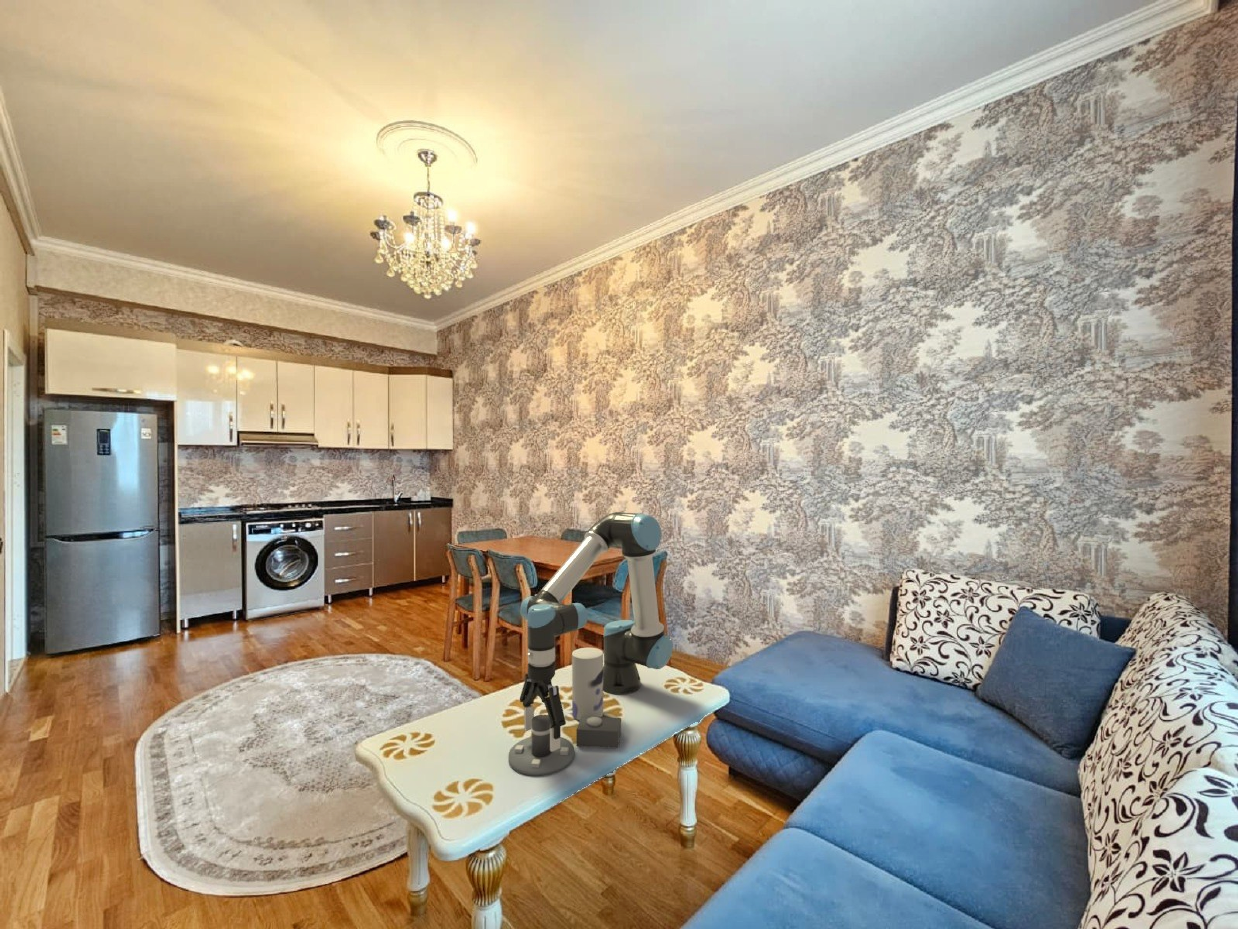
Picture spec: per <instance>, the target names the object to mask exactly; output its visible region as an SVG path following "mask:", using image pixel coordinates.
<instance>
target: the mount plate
mask: <svg viewBox="0 0 1238 929" xmlns="http://www.w3.org/2000/svg"><path fill="white" fill-rule="evenodd" d="M574 759H575V747H574V745H573V743H572V742H571V740H569V739H567V738H565V737H562V736H560V748H559V749H557V750H554V751H552V753H551V754H550V755H549V756H547V757H542V758H538V757H535V756H533V755H532V736H529V737H526V738H524V739H522V740H519V741H518V742H516V743H515V744H514V745H513V746H512V747H511V748H510V750H509V752H508V764H509V766H510V768H511V769H512V770H513V771H515V772H516V773H519V774H521V775H525V776H530V777H531V776H532V777H533V776H534V777H543V776H548V775H553V774H556V773H558V772H561V771H562V770H564V769H566V768H567V767H568V766H570V765H571V763H572V762H573V761H574Z"/></svg>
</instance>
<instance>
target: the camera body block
mask: <svg viewBox="0 0 1238 929" xmlns="http://www.w3.org/2000/svg"><path fill="white" fill-rule="evenodd" d="M621 736H622V717H611V716H610V717H608V716H602V717H595V716H581V719H580V720H579V722H578V724H577V727H576V747H592V748H604V749H605V748H607V749H618V748H619V746H620V741H621Z"/></svg>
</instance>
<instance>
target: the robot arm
mask: <svg viewBox="0 0 1238 929" xmlns="http://www.w3.org/2000/svg"><path fill="white" fill-rule="evenodd" d="M583 538H584V539H582V542H580V544H579V545H578V546H577V547H576V548H575V549H574V551H573V552H572V553H571V554H570V556H569V557H568V558H567V559H566V560H565V562H563V564H562V565H561V566H560V567H559V568H558V570H557V571H556V572H555V573H554V574H553V575H552V577H551V578H550V579H549V580H548V582H546V584H544V586H543V587H542V589H540V591H539V592H538V593H537V594H536V596H527V597H526V598H524V599H523V601H522V602H521V603H520V608H519V609H520V610H519V612H520V615H521V617H522V618H523V619H524V620H525V621H526V626H527V629H526V630H527V654H526V655H527V662H528V664H527V673H525V675H524V683H523V686H522V689H521V693H520V696H519V702H520V703H522V706H523V708H524V710H523V711H524V714H523V715H524V719H523V721H524V727H523V728H524V731H525V732H527V731H528V732H529V731H531V727H532V718H533V717H535V706H534V703H535V700H536V698H537V696H538V697H539V699H540V700H541V702H542V703H544V707H545V708H546V712H547V715H549V718H550V721H551V724H552V725H551V726H550V751H551V752H552V751H554V750H557V749H559V748H560V737H562V736H561V734H562V733H561V728H562V727H563V726H566V725H567V721H566V716H565V714H564V709H563V705H562V701H561V697H560V696H561V695H560V688H559V686H558V685H553V684H552V680H553V678H554V677H555V676H556V663H555V661H556V637H560V636H562V635H565V634H568V633H572V632H576V631H578V630H579V629H582V628H584V627H585V626H586V624H587V623H588V610H587V609H586V606H584V605H583V604H582V603H579V602H575V603H573V602H571V603H569V604H564V603H563V601H564V600H565V598H566V597H567V596H568V595H569V594H570V593H571V592H572V590H573V589H574V588H575V586H576V585H578V583H579V582H580V581H581V579H582V578H583V576H584V575H585V574H586V573H587V572H588V570H590V568H591V567H592V565H593V564H594V563H595V562H596V560H597V559H598V558H599V557H600V556H601V554H606V553H607V551H608V550H609V549H610V548H612V547H615V546H617V547H621V555H622V557H624V558H625V559H626V561H627V568H628V569H627V570H628V577H629V578H628V579H629V585H630V586H629V587H630V596H631V604H632V613H633V620H630V619H619V620H614V621H611V622H610V621H609V622H608V623H606V624H605V625H604V626H603V627H604V628H603V635H602V636H603V692H605V693H609V694H616V695H625V694H630V693H631V694H632V693H633V692H636V691H637V690H639V689H640V688H641V677H640V675H639V674H640V672H639V671H638V668H637V667H638V666H637V665H640V666H643V667H647V669H654V670H661V669H662V668H664V667H666V665H667V664H668V663H669V660H670V659H671V657H672V653H673V648H674V643H673V638H672V637H671V636H670V635H667V634H665V632H666V631H665V626H664V624H663V623H661V622H660V619H659V608H658V601H657V600H658V599H657V591H656V590H657V589H656V579H655V571H654V563H653V562H654V560H653V557H654V555H655V554H656V553H657V549H658V547H660V544H661V539H662V528H661V526H660V523H659V521H658V519H656V518H655V517H654V516H652V515H650V514H645V513H635V512H634V513H633V512H618V511H617V512H611V513H609V514H607V515H605V516H603V517H601V519H598V521H596V522H595V523H594V524H593V525H592V526H591V527H590V528H589V529H588V530H587V531H586V532H585V534H584V537H583Z"/></svg>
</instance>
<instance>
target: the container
mask: <svg viewBox="0 0 1238 929" xmlns="http://www.w3.org/2000/svg"><path fill="white" fill-rule="evenodd" d="M571 660H572V661H571V662H572V663H571V668H572V669H571V676H572V677H571V678H572V679H571V681H572V684H571V687H572V688H571V689H572V693H571V694H572V697H571V699H572V705H571V706H572V708H571V711H572V712H571V713H572V717H573V718H574V719H575V720H577V721H580V719H581V716H595V717H604V716H603V715H604V691H603V666H604V650H602V649H599V648H596V647H581V648H576V649H575V650H573V651H572V653H571Z"/></svg>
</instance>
